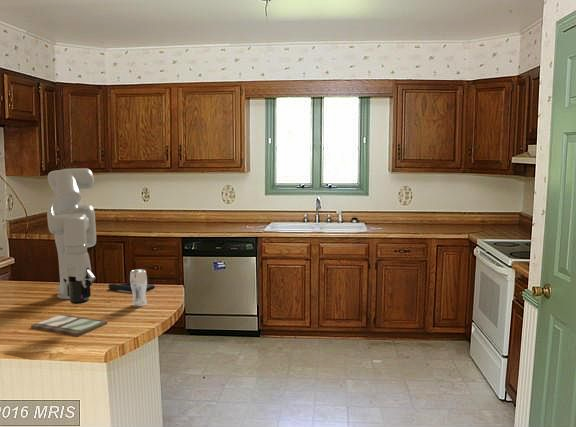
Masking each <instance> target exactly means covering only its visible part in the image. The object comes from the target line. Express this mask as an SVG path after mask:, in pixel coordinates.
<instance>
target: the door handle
mask: <svg viewBox="0 0 576 427" xmlns="http://www.w3.org/2000/svg"><path fill="white" fill-rule="evenodd" d="M107 287H108V289H109V290H113V291H117V292H124V293H130V294H133V293H132V289H131V284H130V282H124V283H120V284H119V283H109V284H108V286H107ZM153 288H154V289H155V288H156V286H155V284H153V283H150V284H147V288H146V292H148V291H151V290H153Z"/></svg>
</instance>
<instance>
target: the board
mask: <svg viewBox="0 0 576 427" xmlns="http://www.w3.org/2000/svg"><path fill="white" fill-rule="evenodd" d="M107 324H108V320H103V319H102V320H101V319H96V318H91V317H82V316H76V315H71V314H62V313H60V314H58V315H55V316H51V317H50V318H46V319H44V320H41V321H39V322H36V323H34V324H31V325H30V327H31V329H36V330H41V331H47V332H53V333H57V334H58V333H60V334H64V335H71V336H77V337H80V336H83V335H85V334H87V333H89V332H91V331H94V330H96V329H98V328H100V327H103V326H105V325H107Z"/></svg>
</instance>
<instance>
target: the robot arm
mask: <svg viewBox="0 0 576 427" xmlns="http://www.w3.org/2000/svg"><path fill="white" fill-rule="evenodd" d="M47 182H48V184H49V186H50V189H51V190H52V192H53V194H54V197H55V198H54V199H53V200H52V201H51V202H50V204H49V205H48V207H47V212H46V218H47V227H48V231H49V233H51V235H54V241H55V246H56V251H57V257H58V270H59V271H58V272H59V284H58V286H57V287H56V288H55V290H56V291H58V292H59V293H57V298H58V299H61V300H70V295H69V281H68V280H69V279H68V276H71V277H76V281H82V284H83V287H84V288H82V291H83V298H87V297H89V298H90V297H91V295H92V294H91V286H92V285H93V283H94V281H95V280H96V276H95V275H94V273H93V272H92V266H91V259H90V254H89V252H88V248H91V247H94V246H95V245H96V244H97V229H96V227H97V226H96V225H97V224H96V214H95V208H94V207H93V206H92V205H91V204H87V203H85V204H84V203H83V204H79V203H80V201H81V200H82V195H81V190H82V189H83V190H85V189H86V190H87V189H92V188H93V187H94V184H95V177H94V174H93V171H92V170H91V169H89V168H85V167H84V168H83V167H82V168H81V167H80V168H78V167H77V168H62V169H58V170H52V171H50V172H49V173H48V174H47ZM86 276H87V278H86ZM85 278H86V279H85ZM85 281H87V283H86V282H85Z"/></svg>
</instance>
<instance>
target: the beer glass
mask: <svg viewBox="0 0 576 427" xmlns="http://www.w3.org/2000/svg"><path fill="white" fill-rule="evenodd" d="M129 273H130V274H129V283H130V284H131V289H132V293H131V294H132V298H133V299H132V306H133V307H138V308H139V307H140V308H141V307H144V306H147V304H148V301H147V296H146V295H147V291H146V288H147V285H148V276H147V269H145V268H143V269H142V268H140V269H139V268H138V269H132V270H131V271H130V272H129Z"/></svg>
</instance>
